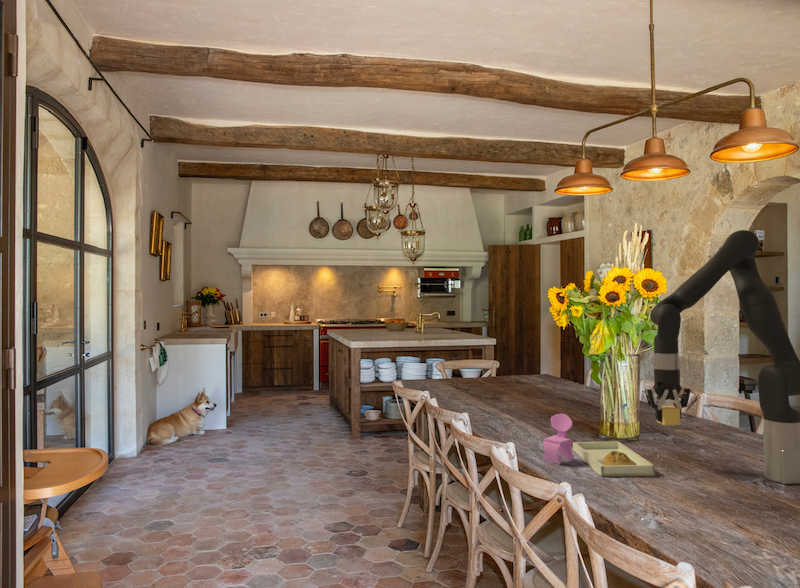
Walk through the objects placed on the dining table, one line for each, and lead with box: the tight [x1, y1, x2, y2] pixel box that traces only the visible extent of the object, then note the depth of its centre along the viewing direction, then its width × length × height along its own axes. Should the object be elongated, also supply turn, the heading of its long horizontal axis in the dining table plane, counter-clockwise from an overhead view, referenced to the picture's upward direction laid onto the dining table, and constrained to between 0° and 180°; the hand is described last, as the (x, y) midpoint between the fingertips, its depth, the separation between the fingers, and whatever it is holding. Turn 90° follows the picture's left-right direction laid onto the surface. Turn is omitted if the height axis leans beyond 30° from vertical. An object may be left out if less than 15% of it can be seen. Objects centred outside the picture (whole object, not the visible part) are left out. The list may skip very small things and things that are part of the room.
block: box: [656, 405, 681, 426], centre depth 178 cm, size 5×5×5 cm
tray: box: [572, 440, 656, 477], centre depth 182 cm, size 28×16×3 cm, turn 0°
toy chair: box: [542, 413, 575, 465], centre depth 185 cm, size 8×9×15 cm
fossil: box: [602, 451, 636, 466], centre depth 175 cm, size 11×6×10 cm
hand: (668, 420), depth 178 cm, fingers closed on block, 5 cm apart
